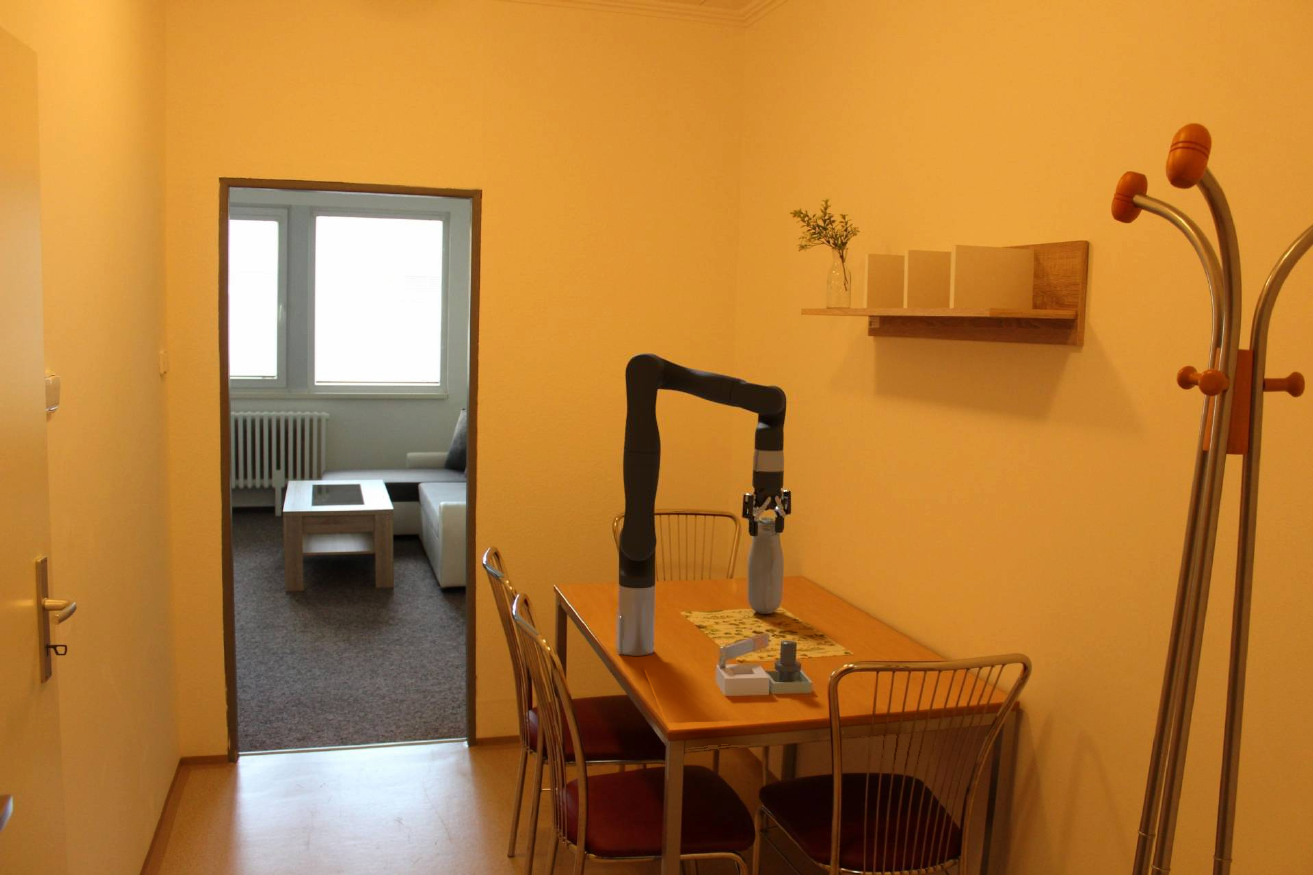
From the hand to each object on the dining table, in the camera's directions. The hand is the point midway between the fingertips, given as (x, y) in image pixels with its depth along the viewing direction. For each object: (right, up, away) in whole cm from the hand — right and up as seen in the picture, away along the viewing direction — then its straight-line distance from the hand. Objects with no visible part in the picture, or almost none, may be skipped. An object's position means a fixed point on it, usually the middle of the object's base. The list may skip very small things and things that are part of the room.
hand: (766, 534), depth 260 cm
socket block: (-8, -34, -20) cm, 40 cm away
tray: (+3, -33, -18) cm, 38 cm away
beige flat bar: (-6, -28, -12) cm, 31 cm away
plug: (+3, -33, -18) cm, 37 cm away
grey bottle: (+5, -28, +51) cm, 58 cm away
